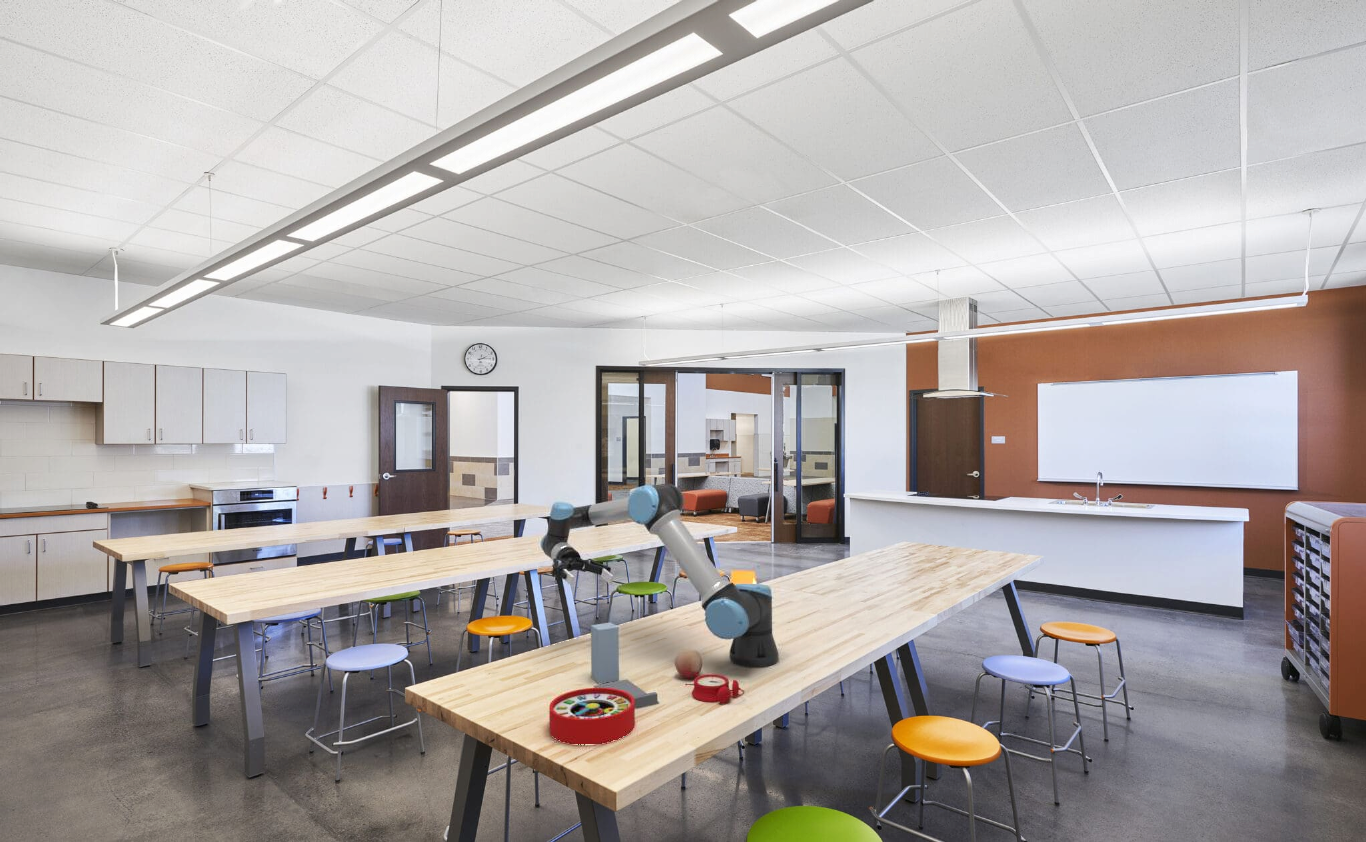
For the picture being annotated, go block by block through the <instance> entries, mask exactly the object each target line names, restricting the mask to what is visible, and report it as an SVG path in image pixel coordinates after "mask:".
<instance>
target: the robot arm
mask: <svg viewBox="0 0 1366 842" xmlns="http://www.w3.org/2000/svg"><path fill="white" fill-rule="evenodd" d="M684 505H685V498H684V495H683V492H682V490H680V488H679V487H677V486H675V485H674V484H671V483H660V484H653V485H651V484H644V485H642V486H639V487H636V488H635V489H634V490H633V491H631V493H630V496H628V497H625V498H620V499H614V500H609V501H603V502H600V503H599V502H598V503H594V504H588V505H587V504H586V505H583V506H576V507H575V506H573V504H571V503H568V502H564V501H563V502H561V501H560V502H559V501H558V502H554V503H552V506H551V510H550V513H549V521H548V527H547V532H546V534H545V535H543V537H542V538H541V540H540V548H541V550H542V552H543V553H544V554H545V556H548V557H549V558H550V559H551V560H552V564H551V565H552V571H551V576H552V577H556V576H557V577H556V578H557V579H558V580H561V579H562V580H564V581H565V582H566V583H567V584H568V585H569V586H573V585H574V578H575V576H574V575H573V574H572V573H570V572H572V571H579V572H584V573H586V572H588V573H592V574H595V575H599V576H600V577H601V578H602V579H603V580H604V581H606V582H607V583H608V584H609V585H613V580H614V575H613V574H612V573H611V571H612V567H610V566H609V565H605V564H602V563H600V562H598V561H595V560H593V559H592V558H588V560H586V559H582V557H581V554H580V553H579V552H578V551H577V550H576V549H575V548H574V547H573V546H571V545H570V544H569V542H568V541H569V535H570V532H571V530H575V529H580V528H589V527H593V526H598V525H604V524H611V523H616V522H623V521H629V520H632V521H633V522H634V523H635V524H639V525H643V526H644V528H646V530H647V531H648V532H649V534H650V535H653V536H654V535H655V536H658V538H659V540H660V541H661V543H663V545H664V547H665V548H666V549H667V551H668V552H669V554H670V555H671V556H672V558H673V559H674V561H675V562H676V563H677V565H678V567H679V568H680V569H681V571H682V572H683V573H684V574H685V577H687V579H688V581H689V582H690V583H691V585H692V586H693V587H694V589H695V591H696V592H697V593H698V594H699V596H700V597H701V608H702V609H703V611H704V616H705V619H704V621H705V625H706V627H707V628H708V630H709V631H710V632H711V634H713V635H714V636H716V637H717V638H719V639H722V640H732V641H731V645H730V649H729V653H728V654H729V656H728V657H729V661H730V662H731V663H732V664H734V665H735V664H736V665H737V666H742V667H747V668H761V667H762V668H763V667H768V666H772V665H775V664H777V663H778V662H779V659H780V658H779V649H778V646H777V644H776V641H775V639H774V635H773V596H772V588H771V587H770V586H769V585H767V584H761V583H757V584H750V583H738V584H735V585H734V583H733V582H730V581H729V580H725V578H724V577H723V576H722V574H721V573H720V572H719V570H718V569H717V568H716V566H715V565H714V563H713V562H712V561H711V560H710V558H709V557H708V555H707V554H706V553H705V552H704V550H703V549H702V547H701V546H700V545H699V543H698V542H697V540H696V539H695V538H694V536H693V535H692V534H691V532H690V531H689V529H688V528H687V527H686V526H685V524H684V523H683V521H682V520H681V519H680V517H681V512H682V511H683V509H684Z"/></svg>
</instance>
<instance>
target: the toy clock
mask: <svg viewBox="0 0 1366 842" xmlns="http://www.w3.org/2000/svg"><path fill="white" fill-rule="evenodd" d="M635 710H636V709H635V702H634V698H633V696H632V695H631V694H629V693H627V692H625V691H622V690H618V689H613V688H595V687H589V688H588V687H587V688H580V689H575V690H571V691H567V692H565V693H562V694H560V695H558V696H556V697H555V698H554V699H552V700H551V701H550V703H549V711H548V713H549V716H548V717H549V719H548V720H549V722H548V723H549V727H548V728H549V730H550V731H549V735H550V734H551V735H550V736H551V737H552V736H553V737H554V738H556V739H557V740H560V741H561V742H560V743H562V742H565V743H569V744H578V745H579V744H580V745H581V744H584V745H585V744H601V745H603V744H602V743H606V744H608V743H607V742H611V741H613V740H617V741H619V740H620V739H619V738H622V737H623V736H626V735H627V734H629V733H630V732H631V731H632V730H633V728H634V729H635V727H636V726H635V725H636V719H635V718H636V715H635V713H636V711H635ZM634 726H635V727H634ZM633 731H634V730H633ZM633 731H632V732H633ZM632 732H631V733H632ZM631 733H630V734H631ZM630 734H629V735H630ZM627 736H628V735H627ZM627 736H626V737H627ZM553 737H552V738H553ZM554 738H553V739H554ZM618 739H619V740H618ZM622 739H623V738H622ZM557 740H556V741H557ZM565 743H564V744H565ZM611 743H612V742H611ZM569 744H568V745H569Z"/></svg>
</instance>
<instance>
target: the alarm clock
mask: <svg viewBox="0 0 1366 842" xmlns="http://www.w3.org/2000/svg"><path fill="white" fill-rule="evenodd" d="M729 684H730V681H729V679H728V678H727V677H726V676H724V675H722V674H721V675H720V674H712V673H710V674H702V675H699V676H698V675H697V676H696V677H694V681H693V683H685V686H693V689H692V691H691V696H692V698H693V699H695V700H697V701H700V702H706V703H717V702H718V703H719V704H722V705H725V704H728V703H729V702H730V700H731V697H732V698H739V697H741V696H743V695H744V694H745V690H743V689H742V688H741V687H740V686H739V682H738V680H737V679H733V680H732V685H731V689H730V687H729V686H730V685H729ZM740 691H741V692H742V693H741V694H739V692H740Z"/></svg>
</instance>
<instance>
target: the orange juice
mask: <svg viewBox="0 0 1366 842" xmlns="http://www.w3.org/2000/svg"><path fill="white" fill-rule="evenodd" d="M729 580H730V581H729V582H733V583H734V585H735V584H738V583H750V584H758V582H757V578H756V573H755V570H739V569H738V570H737V569H736V570H735V569H733V570H731V574H730V579H729Z"/></svg>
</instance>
